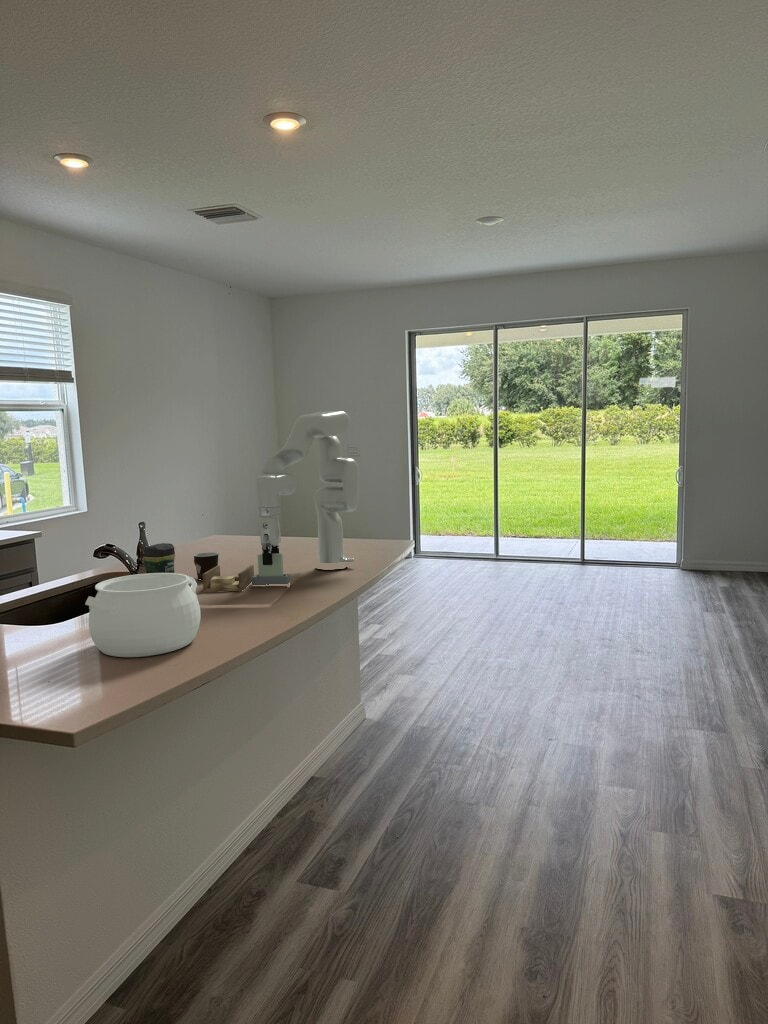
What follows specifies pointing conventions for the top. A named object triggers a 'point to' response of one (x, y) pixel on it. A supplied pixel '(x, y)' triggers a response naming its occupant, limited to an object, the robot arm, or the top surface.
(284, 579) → the holder
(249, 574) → the rack
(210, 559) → the coffee mug
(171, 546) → the coffee jar
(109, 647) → the pot
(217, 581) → the offcut top
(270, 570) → the board
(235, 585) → the offcut low
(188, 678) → the top surface
